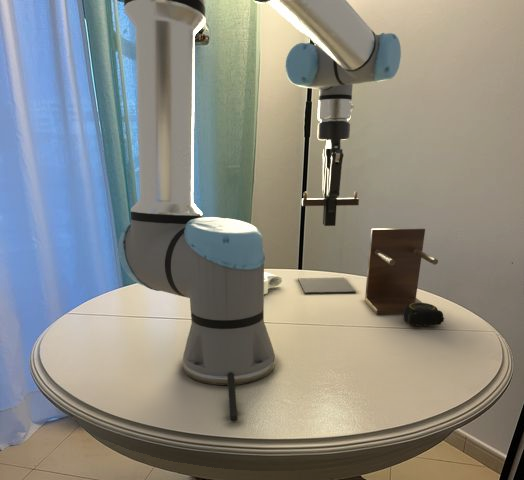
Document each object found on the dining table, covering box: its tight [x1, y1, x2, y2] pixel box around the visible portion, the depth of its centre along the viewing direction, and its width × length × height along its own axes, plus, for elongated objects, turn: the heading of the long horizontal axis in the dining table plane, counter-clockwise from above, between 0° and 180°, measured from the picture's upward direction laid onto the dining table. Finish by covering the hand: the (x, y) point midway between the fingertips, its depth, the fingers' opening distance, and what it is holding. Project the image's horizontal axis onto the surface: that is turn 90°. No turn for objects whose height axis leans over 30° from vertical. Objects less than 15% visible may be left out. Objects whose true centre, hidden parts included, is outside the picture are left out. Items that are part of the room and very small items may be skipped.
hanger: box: [301, 190, 360, 207], centre depth 113 cm, size 2×14×3 cm, turn 93°
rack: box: [364, 227, 439, 315], centre depth 100 cm, size 12×12×17 cm
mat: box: [297, 277, 357, 295], centre depth 121 cm, size 14×13×1 cm
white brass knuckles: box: [264, 271, 283, 295], centre depth 121 cm, size 3×18×15 cm
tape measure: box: [403, 302, 445, 328], centre depth 94 cm, size 7×7×4 cm
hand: (328, 224), depth 115 cm, fingers closed on hanger, 2 cm apart
